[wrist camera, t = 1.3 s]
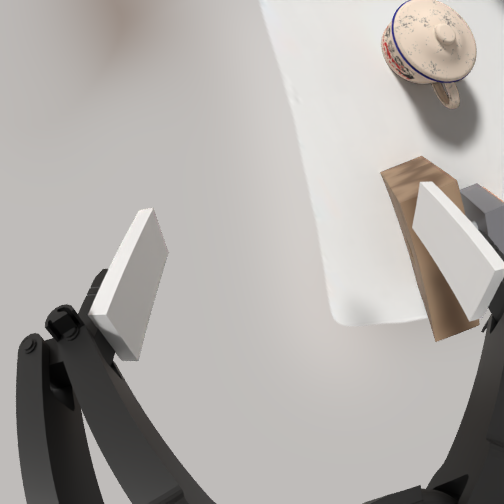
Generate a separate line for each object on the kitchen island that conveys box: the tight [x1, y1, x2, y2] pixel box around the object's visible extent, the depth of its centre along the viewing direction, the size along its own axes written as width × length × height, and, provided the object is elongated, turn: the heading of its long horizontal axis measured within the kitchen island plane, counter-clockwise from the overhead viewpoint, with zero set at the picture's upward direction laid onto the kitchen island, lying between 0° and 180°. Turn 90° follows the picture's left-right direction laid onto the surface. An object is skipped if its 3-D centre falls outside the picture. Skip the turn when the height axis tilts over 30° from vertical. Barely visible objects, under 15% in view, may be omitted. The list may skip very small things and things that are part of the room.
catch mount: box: [380, 156, 479, 342], centre depth 31 cm, size 6×18×12 cm, turn 29°
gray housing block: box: [460, 184, 504, 254], centre depth 29 cm, size 9×7×8 cm
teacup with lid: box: [381, 0, 476, 109], centre depth 21 cm, size 12×9×12 cm
